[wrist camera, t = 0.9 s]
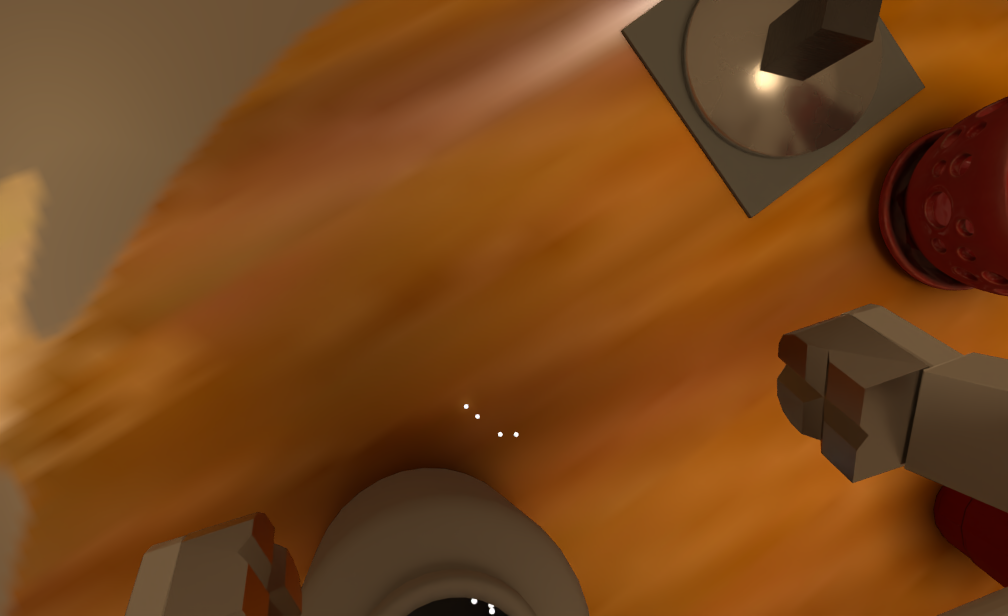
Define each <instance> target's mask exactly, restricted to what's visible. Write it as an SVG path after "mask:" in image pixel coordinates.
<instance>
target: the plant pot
mask: <svg viewBox="0 0 1008 616" xmlns="http://www.w3.org/2000/svg"><path fill="white" fill-rule="evenodd" d="M878 214H879V226H880V230H881V233H882V237H883V239H884V241H885V244H886V246H887V248H888V250H889V251H890V253H891V255H892V256H893V258H894V259H895V260H896V262H897V263H898V264H899V265H900V266H901V267H902V268H903V269H904V270H905V271H906V272H907V273H908V274H909V275H911V276H912V277H914V278H915V279H917V280H918V281H920V282H922V283H924V284H926V285H929V286H931V287H935V288H939V289H944V290H967V289H972V288H977V289H980V290H983V291H986V292H990V293H994V294H998V295H1004V296H1008V97H1005V98H1003V99H1001V100H998V101H996V102H994V103H992V104H990V105H988V106H986V107H984V108H982V109H980V110H978V111H976V112H975V113H973V114H971V115H970V116H968V117H966V118H965V119H963V120H962V121H960V122H959V123H957V124H956V125H954V126H953V127H951V128H945V129H940V130H937V131H933V132H931V133H929V134H926V135H924V136H922V137H921V138H919V139H917V140H916V141H914V142H913V143H912V144H910V145H909V146H908V147H907V148H906V149H905V150H904V151H903V152H902V153H901V154H900V155H899V156H898V157H897V159H896V160H895V161H894V163H893V164H892V166H891V167H890V169H889V171H888V173H887V175H886V178H885V180H884V182H883V186H882V189H881V194H880V199H879V208H878Z"/></svg>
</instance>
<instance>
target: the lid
mask: <svg viewBox="0 0 1008 616" xmlns="http://www.w3.org/2000/svg"><path fill="white" fill-rule="evenodd" d="M881 3H882V0H698V2H697V3H696V5H695V7H694V8H693V10H692V12H691V15H690V17H689V20H688V22H687V25H686V29H685V32H684V36H683V43H682V59H681V63H682V72H683V78H684V82H685V86H686V90H687V92H688V95H689V98H690V100H691V102H692V104H693V106H694V108H695V110H696V112H697V113H698V115H699V116H700V118H701V119H702V121H703V122H704V123H705V124H706V125H707V127H708V128H709V129H710V130H711V131H712V132H713V133H714V134H715V135H717V136H718V137H719V138H720V139H721V140H722V141H724V142H726V143H727V144H729V145H730V146H732V147H733V148H736V149H738V150H740V151H742V152H744V153H747V154H751V155H754V156H757V157H764V158H775V159H782V158H791V157H796V156H800V155H804V154H807V153H810V152H813V151H815V150H818V149H820V148H823V147H825V146H827V145H829V144H831V143H832V142H834V141H836V140H838V139H839V138H840V137H841V136H843V135H844V134H845V133H847V132H848V131H849V130H850V129H851V128H852V127H853V126H854V125H855V124H856V123H857V122H858V120H859V119H860V118H861V116H862V115H863V114H864V112H865V111H866V109H867V107H868V105H869V104H870V102H871V100H872V98H873V95H874V93H875V90H876V88H877V84H878V81H879V77H880V71H881V65H882V43H881V35H880V30H879V25H878V17H879V12H880V8H881Z"/></svg>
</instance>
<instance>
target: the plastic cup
mask: <svg viewBox="0 0 1008 616" xmlns="http://www.w3.org/2000/svg"><path fill="white" fill-rule="evenodd" d="M934 517H935V523H936V525H937V527H938V529H939V530H940V532H941V534H942V535H943V536H944V537H945V538H946V539H947V541H948V542H949V543H951V544H952V545H953V546H955V547H956V548H957V549H959V550H960V551H961V552H963V553H964V554H965V555H967V556H968V557H969V558H971V560H972V561H973V563H975V564H976V565H977V566H978V567H980V568H981V569H982V570H983V571H985V572H986V573H987V574H988V575H990V576H991V577H992V578H993V579H995V580H996V581H997V582H998V583H1000V584H1001V585H1002V586H1003V587H1005V588H1006V587H1008V513H1007V512H1005V511H1003V510H1000V509H998V508H996V507H993V506H991V505H989V504H986V503H984V502H982V501H979V500H977V499H975V498H972V497H970V496H968V495H965V494H963V493H961V492H958V491H956V490H954V489H951V488H949V487H947V486H943V487H942V489H941V490H940V492H939V493H938V495H937V497H936V501H935V505H934Z"/></svg>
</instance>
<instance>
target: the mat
mask: <svg viewBox="0 0 1008 616" xmlns="http://www.w3.org/2000/svg"><path fill="white" fill-rule="evenodd" d="M697 2H698V0H663V1H661V2H660V3H659V4H657V5H656V6H654V7H653V8H652V9H650V10H649V11H648V12H646V13H645V14H643V15H642V16H641V17H639V18H638V19H637V20H635V21H634V22H632V23H631V24H630V25H628V26H627V27H626V28H624V29H623V30H622V31H621V32H622V34H623V35H624V37H625V38H626V39H627V41H628V42H629V44H630V45H631V47H632V48H633V50H634V51H635V53H636V54H637V55H638V57H639V58H640V60H641V61H642V63H643V64H644V66H645V67H646V69H647V70H648V71H649V73H650V74H651V76H652V77H653V79H654V80H655V82H656V83H657V85H658V86H659V88H660V89H661V90H662V92H663V93H664V95H665V96H666V98H667V99H668V101H669V102H670V104H671V105H672V106H673V108H674V109H675V111H676V112H677V114H678V115H679V117H680V118H681V120H682V121H683V122H684V124H685V125H686V127H687V128H688V130H689V131H690V133H691V134H692V136H693V137H694V138H695V140H696V141H697V143H698V144H699V146H700V147H701V149H702V150H703V152H704V153H705V154H706V156H707V157H708V159H709V160H710V162H711V163H712V165H713V166H714V168H715V169H716V170H717V172H718V173H719V175H720V176H721V178H722V179H723V181H724V182H725V184H726V185H727V187H728V188H729V189H730V191H731V192H732V194H733V195H734V197H735V198H736V200H737V201H738V203H739V204H740V205H741V207H742V208H743V210H744V211H745V213H746V214H747V216H748V217H749V218H752V217H753V216H755V215H756V214H757V213H759V212H760V211H761V210H763V209H764V208H765V207H766V206H768V205H769V204H770V203H772V202H773V201H774V200H776V199H777V198H778V197H780V196H781V195H782V194H784V193H785V192H786V191H788V190H789V189H790V188H792V187H793V186H794V185H796V184H797V183H798V182H800V181H801V180H802V179H804V178H805V177H806V176H808V175H809V174H810V173H812V172H813V171H814V170H816V169H817V168H818V167H820V166H821V165H822V164H824V163H825V162H826V161H828V160H829V159H830V158H832V157H833V156H834V155H836V154H837V153H838V152H840V151H841V150H842V149H844V148H845V147H846V146H848V145H849V144H850V143H851V142H853V141H854V140H855V139H857V138H858V137H859V136H861V135H862V134H863V133H865V132H866V131H867V130H869V129H870V128H871V127H873V126H874V125H875V124H877V123H878V122H879V121H881V120H882V119H883V118H885V117H886V116H887V115H889V114H890V113H891V112H893V111H894V110H895V109H897V108H898V107H899V106H901V105H902V104H903V103H905V102H906V101H907V100H909V99H910V98H911V97H913V96H914V95H915V94H917V93H918V92H919V91H921V90H922V89H923V88H925V86H924V85H923V83H922V82H921V80H920V79H919V77H918V76H917V74H916V72H915V71H914V69H913V68H912V66H911V65H910V63H909V62H908V60H907V58H906V57H905V55H904V54H903V52H902V51H901V49H900V48H899V46H898V44H897V43H896V41H895V40H894V38H893V37H892V35H891V34H890V32H889V30H888V29H887V27H886V26H885V24H884V23H883V21H882V20H881V18H880V16H879V17H878V25H879V30H880V35H881V43H882V65H881V71H880V77H879V81H878V84H877V88H876V90H875V93H874V95H873V98H872V100H871V102H870V104H869V105H868V107H867V109H866V111H865V112H864V114H863V115H862V116H861V118H860V119H859V120H858V122H857V123H856V124H855V125H854V126H853V127H852V128H851V129H850V130H849V131H848V132H847V133H845V134H844V135H843V136H841V137H840V138H839V139H838V140H836V141H834V142H832V143H831V144H829V145H827V146H825V147H823V148H820V149H818V150H815V151H813V152H810V153H807V154H804V155H800V156H796V157H791V158H782V159H775V158H764V157H757V156H754V155H751V154H747V153H744V152H742V151H740V150H738V149H736V148H733V147H732V146H730V145H729V144H727V143H726V142H724V141H722V140H721V139H720V138H719V137H718V136H717V135H715V134H714V133H713V132H712V131H711V130H710V129H709V128H708V127H707V125H706V124H705V123H704V122H703V121H702V119H701V118H700V116H699V115H698V113H697V112H696V110H695V108H694V106H693V104H692V102H691V100H690V98H689V95H688V92H687V90H686V86H685V82H684V78H683V72H682V63H681V59H682V43H683V36H684V32H685V29H686V25H687V22H688V20H689V17H690V15H691V12H692V10H693V8H694V7H695V5H696V3H697Z"/></svg>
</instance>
